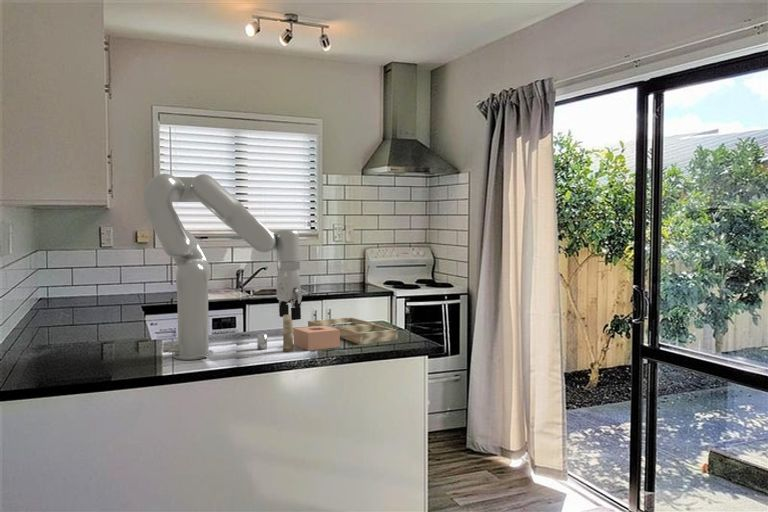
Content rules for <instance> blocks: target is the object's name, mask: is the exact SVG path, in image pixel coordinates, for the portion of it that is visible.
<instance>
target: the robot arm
mask: <svg viewBox="0 0 768 512" xmlns="http://www.w3.org/2000/svg"><path fill="white" fill-rule="evenodd" d="M142 198H143V199H142V203H143V208H144V211H145V213H146V216H147V218H148V221H149V222H150V224H151V226H152V228H153V231H154V233H155V235H156V237H157V239H158V240H159V242H160V245H161V246H162V248H163V251H164V252H165V254H166V255H167V256H168V257H170V258H172V259H173V260H174V262H175V265H176V266H177V271H176V274H175V283H176V285H175V286H176V293H177V294H176V295H177V341H175V344H172V345H170V346H169V345H168V346H167V345H166V346H162V353H163V354H164V353H166V354H167V353H169V354H171V353H173V354H172V358H174V359H176V360H185V361H186V360H189V361H190V360H202V359H207V358H208V357H209V356H212V355H213V354H214V352H215V351H214V350H211V349H209V347H210V346H209V345H210V343H209V342H210V341H209V289H208V283H209V280H210V278H211V275H212V268H211V266H210V264H209V261H208V260H207V258H206V256H205V254H204V252H203V250H202V248H201V246H200V244H199V242H198V240H197V239H196V237H195V236H194V235H193V233H191V232H190V231H189V230H186V229H185V227H184V225H183V223H182V221H181V219H180V217H179V215H178V214H177V212H176V210H175V208H174V205H173V203H197V202H198V203H201V204H202V205H203V206H204V207H205V208H206V209H208V210H209V211H210V212H211V213H212V214H213V215H215V216H216V217H217V218H218V219H219V220H220V221H221V222H223V223H224V225H225V226H227V227H229V228H230V229H231V230H233V231H234V233H236V234H237V235H238V236H239V237H240V238H241V239H243V240H244V241H245V242H246V243H247V244H249V246H250V247H252V248H253V249H254V251H257V252H259V253H261V254H263V253H264V254H265V253H269V252H274V251H276V269H277V270H276V272H277V273H276V299H277V300H278V313H279V314H278V316H279V317H280V318H283V315H291V319H292V320H293V321H298V320H301V319H302V314H301V313H302V312H301V310H302V309H301V308H302V298H303V295H302V292H301V291H302V289H301V279H300V278H301V277H300V271H301V263H300V262H301V260H300V258H301V257H300V233H299V232H298V230H297V229H279V230H270V229H268V228H267V227H266V226H265V225H264V224H263V223H261V222H260V221H259V220H258V219H257V218H256V217H255V216H254V215H252V214H251V213H250V212H249V211H248V210H247V209H246V207H245V205H244V204H242V202H241V201H239V200H238V199H237V198H236V197H235V196H234V195H232V194H231V192H229V191H228V190H227V189H225V187H223V186H222V185H221V184H220V183H219V182H218V181H217V180H216V179H215V178H213V177H212V176H210V175H209V174H206V173H205V174H203V173H202V174H198V175H196V176H194V177H192V176H174V175H172V174H169V173H159V174H157V175H155V176H153V177H152V178H151V179H150V180H149V182H147V184H146V186H145V188H144V190H143V195H142ZM288 302H290V305H291V307H290V311H289V304H288ZM289 312H290V313H291V314H290V313H289Z"/></svg>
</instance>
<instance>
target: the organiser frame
mask: <svg viewBox="0 0 768 512" xmlns="http://www.w3.org/2000/svg"><path fill="white" fill-rule="evenodd" d="M346 323H352V325H351V324H350V325H340V324H346ZM337 324H339V326H331V325H337ZM323 325H324V326H328V327H331V328H335V329H339V330H340V338H342V339H345V340H347V341H350V342H352V343H355V344H357V345H359V346H361V345H369V344H374V343H381V342H388V341H394V340H398V329H396V328H391V327H387V326H382V325H379V324H377V323H376V322H372V321H367V320H363V319H360V318H355V317H340V318H329V319H317V320H308V321H307V327H312V326H323ZM372 331H376V332H372Z"/></svg>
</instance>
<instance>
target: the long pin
mask: <svg viewBox="0 0 768 512" xmlns="http://www.w3.org/2000/svg"><path fill="white" fill-rule="evenodd" d="M282 324H283V325H282V334H283V335H282V339H283V340H282V341H283V343H282V344H283V347H282V348H283V349H282V351H283V352H284V353H289V352H290V353H291V352H294V320H292V319H291V314H289V315H283V317H282Z"/></svg>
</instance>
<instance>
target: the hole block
mask: <svg viewBox="0 0 768 512" xmlns="http://www.w3.org/2000/svg"><path fill="white" fill-rule="evenodd" d="M328 326H329V325H327V326H324V325H323V326H312V327H308V326H303V327H302V326H301V327H293V346H295V347H296V348H297V347H298V348H301V349H303V350H306V351H309V352H310V351H316V350H326V349H335V348H341V337H340V330H339V329H335V328H331V327H332V326H331V327H328Z"/></svg>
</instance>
